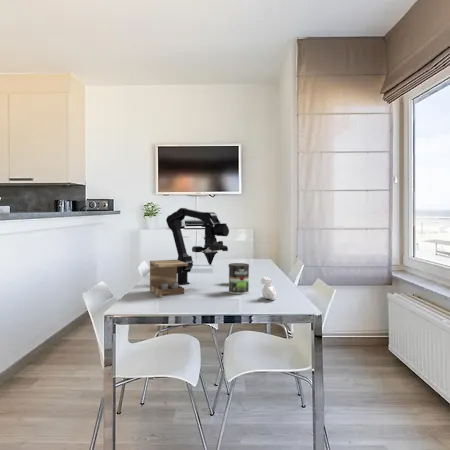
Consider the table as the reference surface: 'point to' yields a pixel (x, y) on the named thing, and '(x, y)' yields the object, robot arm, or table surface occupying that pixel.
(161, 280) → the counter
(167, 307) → the table surface
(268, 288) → the duck figurine
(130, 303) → the table surface
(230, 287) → the coffee can
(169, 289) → the tray
